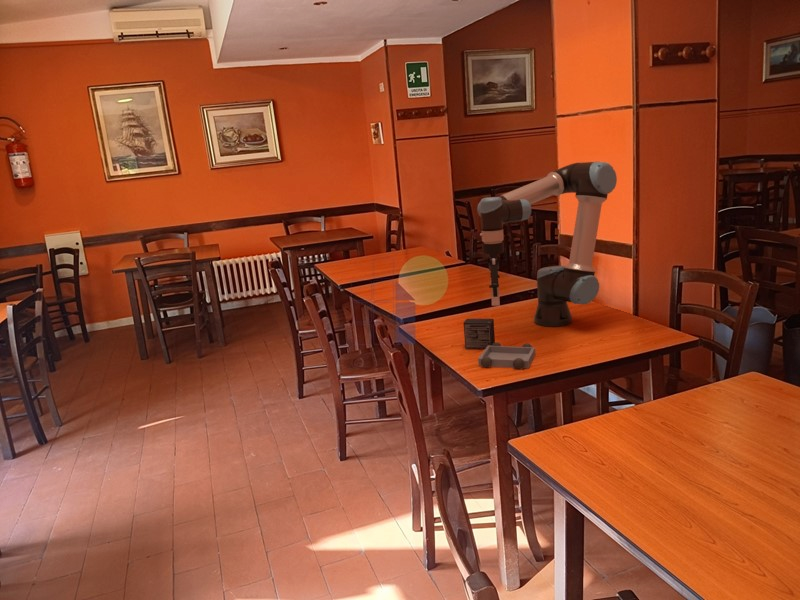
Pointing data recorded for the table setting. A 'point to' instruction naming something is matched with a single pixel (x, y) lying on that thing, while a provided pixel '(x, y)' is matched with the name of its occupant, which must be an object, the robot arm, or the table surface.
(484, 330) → the small box
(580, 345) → the table surface
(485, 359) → the chassis bay
